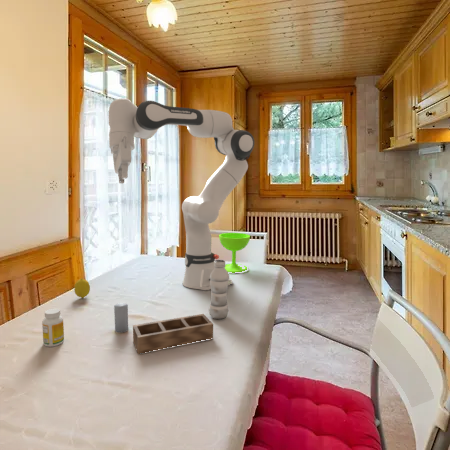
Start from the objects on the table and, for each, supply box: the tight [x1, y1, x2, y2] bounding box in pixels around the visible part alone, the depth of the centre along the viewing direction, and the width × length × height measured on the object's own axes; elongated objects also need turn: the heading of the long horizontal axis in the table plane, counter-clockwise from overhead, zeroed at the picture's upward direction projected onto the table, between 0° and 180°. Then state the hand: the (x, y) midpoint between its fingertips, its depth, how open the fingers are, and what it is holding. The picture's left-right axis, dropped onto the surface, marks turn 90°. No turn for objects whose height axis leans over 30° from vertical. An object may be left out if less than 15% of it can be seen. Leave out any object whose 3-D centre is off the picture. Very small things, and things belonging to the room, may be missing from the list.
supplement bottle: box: [41, 307, 65, 348], centre depth 97 cm, size 5×5×10 cm
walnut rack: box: [132, 313, 214, 355], centre depth 100 cm, size 22×8×5 cm, turn 115°
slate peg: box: [113, 302, 129, 334], centre depth 106 cm, size 4×4×8 cm
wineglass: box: [218, 232, 251, 273], centre depth 175 cm, size 16×16×18 cm
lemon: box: [73, 277, 91, 299], centre depth 131 cm, size 6×6×8 cm
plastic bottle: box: [208, 259, 230, 320], centre depth 116 cm, size 6×7×20 cm
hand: (123, 180), depth 123 cm, fingers open, 8 cm apart
